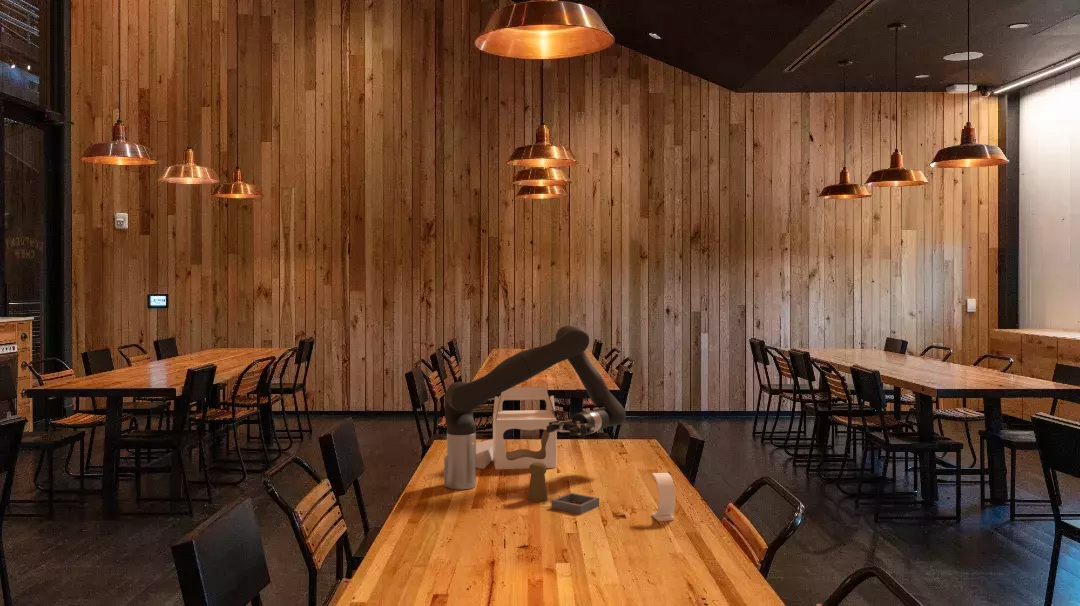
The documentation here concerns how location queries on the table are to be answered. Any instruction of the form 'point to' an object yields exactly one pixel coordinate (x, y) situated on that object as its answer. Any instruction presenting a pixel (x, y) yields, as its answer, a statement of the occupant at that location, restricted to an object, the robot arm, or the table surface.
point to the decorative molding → (484, 453)
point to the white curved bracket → (665, 497)
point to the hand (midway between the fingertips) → (558, 430)
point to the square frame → (585, 506)
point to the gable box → (525, 422)
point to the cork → (537, 483)
